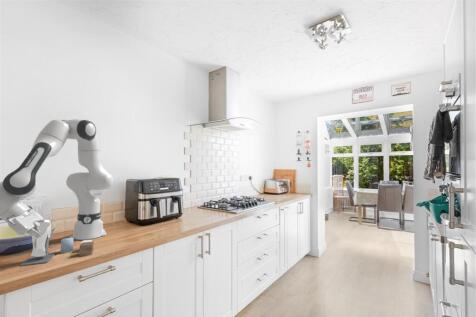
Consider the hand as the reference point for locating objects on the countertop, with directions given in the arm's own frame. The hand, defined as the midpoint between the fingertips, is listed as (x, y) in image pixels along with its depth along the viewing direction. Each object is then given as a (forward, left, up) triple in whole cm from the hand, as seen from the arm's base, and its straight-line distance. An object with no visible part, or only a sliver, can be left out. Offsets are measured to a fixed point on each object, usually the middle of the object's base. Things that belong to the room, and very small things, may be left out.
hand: (43, 234), depth 105 cm
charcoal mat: (0, -1, -11) cm, 11 cm away
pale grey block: (-8, +15, -11) cm, 21 cm away
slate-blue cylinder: (-8, +7, -11) cm, 16 cm away
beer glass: (0, -1, -9) cm, 9 cm away
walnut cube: (-1, +17, -11) cm, 20 cm away
